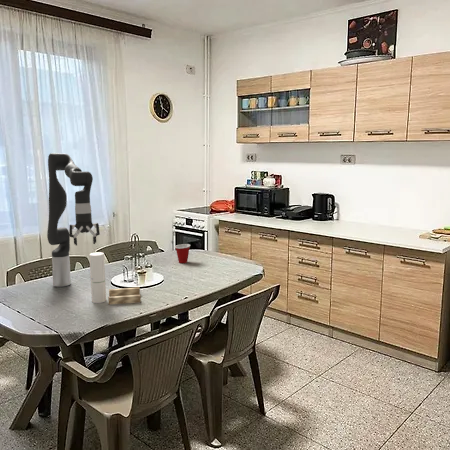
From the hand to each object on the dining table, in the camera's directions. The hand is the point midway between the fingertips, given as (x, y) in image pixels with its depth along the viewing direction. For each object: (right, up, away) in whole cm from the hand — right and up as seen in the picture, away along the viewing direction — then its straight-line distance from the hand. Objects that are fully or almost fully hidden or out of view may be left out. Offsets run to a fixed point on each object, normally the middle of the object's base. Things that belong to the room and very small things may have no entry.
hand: (85, 244), depth 221 cm
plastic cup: (+41, -16, +83) cm, 94 cm away
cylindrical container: (+4, -30, +9) cm, 31 cm away
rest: (+17, -29, +12) cm, 36 cm away
